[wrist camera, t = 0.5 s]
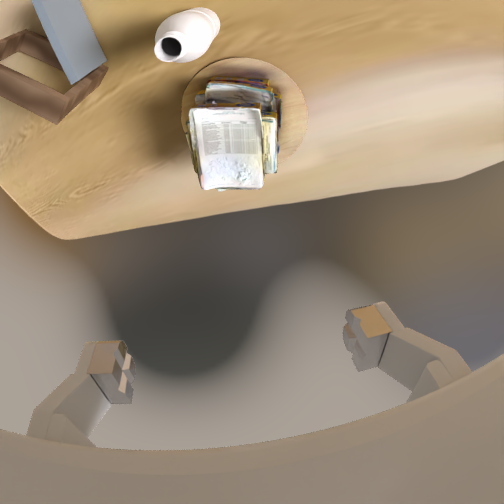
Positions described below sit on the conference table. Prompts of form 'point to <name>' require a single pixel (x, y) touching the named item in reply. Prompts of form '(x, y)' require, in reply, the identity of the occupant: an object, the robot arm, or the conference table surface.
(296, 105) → the yellow stacked packages
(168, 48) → the water bottle
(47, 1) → the door
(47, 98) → the brown wooden frame
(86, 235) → the conference table surface
